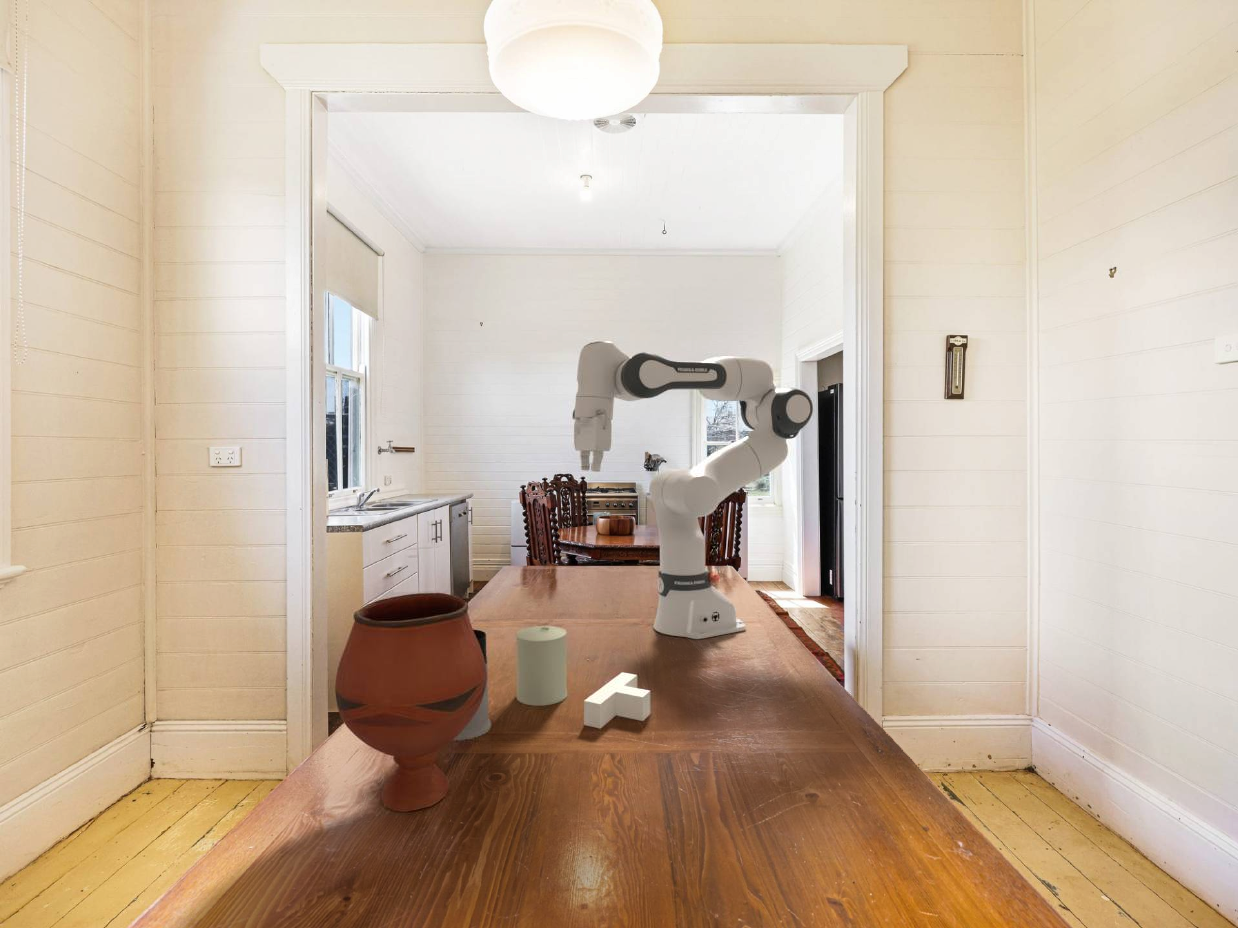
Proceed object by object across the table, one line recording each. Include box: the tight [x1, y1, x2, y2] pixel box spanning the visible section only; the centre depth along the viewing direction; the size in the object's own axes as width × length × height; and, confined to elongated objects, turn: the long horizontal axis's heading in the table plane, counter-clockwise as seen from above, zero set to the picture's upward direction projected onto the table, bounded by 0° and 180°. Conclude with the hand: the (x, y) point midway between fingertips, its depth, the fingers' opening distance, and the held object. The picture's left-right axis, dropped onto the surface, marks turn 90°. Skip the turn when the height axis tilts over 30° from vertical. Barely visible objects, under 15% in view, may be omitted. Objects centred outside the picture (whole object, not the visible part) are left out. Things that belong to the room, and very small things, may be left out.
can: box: [515, 625, 568, 707], centre depth 115 cm, size 9×9×12 cm
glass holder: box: [452, 628, 492, 741], centre depth 99 cm, size 9×14×15 cm, turn 164°
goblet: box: [334, 592, 487, 813], centre depth 83 cm, size 19×19×25 cm
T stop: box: [583, 671, 651, 729], centre depth 107 cm, size 8×14×4 cm, turn 153°
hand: (590, 471), depth 146 cm, fingers open, 8 cm apart
